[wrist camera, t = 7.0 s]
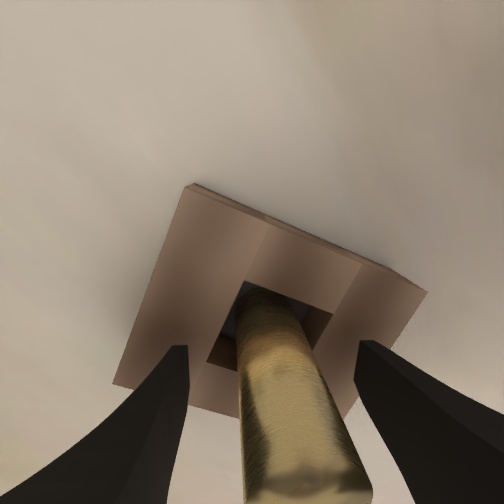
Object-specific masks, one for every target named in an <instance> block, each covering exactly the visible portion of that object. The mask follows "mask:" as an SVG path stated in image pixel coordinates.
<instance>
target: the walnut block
mask: <svg viewBox="0 0 504 504" xmlns="http://www.w3.org/2000/svg"><path fill="white" fill-rule="evenodd" d="M257 287H264V288H266V289H269V290H272V291H274V292H277V293H280V294H282V295H285V296H287V297H288V299H289V300H290V302H291V305H292V307H293V309H294V311H295V314H296V316H297V318H298V320H299V323H300V325H301V327H302V329H303V332H304V334H305V336H306V338H307V341H308V343H309V345H310V347H311V350H312V352H313V354H314V356H315V359H316V361H317V363H318V365H319V367H320V370H321V372H322V374H323V376H324V379H325V381H326V383H327V385H328V388H329V390H330V392H331V394H332V397H333V399H334V401H335V403H336V406H337V408H338V410H339V412H340V415H341V417H342V419H344V418H345V416H346V415H347V413H348V412H349V410H350V409H351V407H352V406H353V404H354V403H355V401H356V400H357V398H358V397H359V393H358V391H357V388H356V386H355V383H354V381H353V378H354V372H355V366H356V359H357V353H358V347H359V341H360V340H374V341H376V342H378V343H380V344H381V345H383V346H385V347H386V348H388V349H389V350H390V349H391V347H392V346H393V344H394V342H395V341H396V339H397V338H398V336H399V335H400V333H401V332H402V330H403V329H404V327H405V326H406V324H407V323H408V321H409V320H410V318H411V317H412V315H413V314H414V312H415V311H416V309H417V308H418V306H419V305H420V303H421V302H422V300H423V299H424V297H425V296H426V294H427V293H428V292H427V291H425V290H424V289H422V288H420V287H419V286H417V285H416V284H414V283H412V282H411V281H409V280H408V279H406V278H405V277H403V276H401V275H400V274H398V273H397V272H395V271H393V270H392V269H389V268H387V267H385V266H383V265H380V264H378V263H376V262H373V261H371V260H369V259H367V258H364V257H362V256H360V255H357V254H355V253H353V252H351V251H348V250H346V249H344V248H341V247H339V246H337V245H335V244H332V243H330V242H328V241H325V240H323V239H321V238H319V237H316V236H314V235H312V234H309V233H307V232H305V231H303V230H300V229H298V228H296V227H293V226H291V225H289V224H287V223H284V222H282V221H280V220H277V219H275V218H273V217H271V216H268V215H266V214H264V213H261V212H259V211H257V210H255V209H252V208H250V207H248V206H245V205H243V204H241V203H238V202H236V201H234V200H232V199H229V198H227V197H225V196H222V195H220V194H218V193H216V192H213V191H211V190H209V189H206V188H204V187H202V186H200V185H197V184H195V183H193V184H191V185H189V186H187V187H185V188H184V190H183V193H182V196H181V198H180V201H179V204H178V207H177V209H176V212H175V215H174V217H173V220H172V223H171V226H170V228H169V231H168V234H167V236H166V239H165V242H164V245H163V247H162V250H161V253H160V255H159V258H158V261H157V264H156V266H155V269H154V272H153V274H152V277H151V280H150V283H149V285H148V288H147V291H146V293H145V296H144V299H143V302H142V304H141V307H140V310H139V312H138V315H137V318H136V321H135V323H134V326H133V329H132V331H131V334H130V337H129V340H128V342H127V345H126V348H125V350H124V353H123V356H122V359H121V361H120V364H119V367H118V369H117V372H116V375H115V378H114V380H113V383H112V384H114V385H118V386H122V387H125V388H129V389H133V390H135V389H136V388H137V387H138V386H139V385H140V384H141V383H142V382H143V381H144V379H145V378H146V377H147V376H148V375H149V373H150V372H151V371H152V370H153V369H154V368H155V366H156V365H157V364H158V363H159V361H160V360H161V359H162V358H163V356H164V355H165V354H166V352H167V351H168V350H169V348H170V347H171V346H172V345H188V355H189V374H190V391H189V399H188V405H191V406H195V407H198V408H202V409H205V410H209V411H213V412H216V413H220V414H224V415H227V416H231V417H235V418H238V419H240V413H239V392H238V371H237V350H236V329H235V308H236V305H237V302H238V301H239V299H240V298H241V297H242V296H243V295H244V294H245V293H246V292H248V291H249V290H251V289H254V288H257Z"/></svg>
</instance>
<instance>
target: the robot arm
mask: <svg viewBox="0 0 504 504" xmlns="http://www.w3.org/2000/svg"><path fill="white" fill-rule="evenodd" d="M353 381H354V383H355V386H356V388H357V391H358V393H359V396H360V398H361V400H362V403H363V405H364V407H365V408H366V410H367V412H368V414H369V416H370V417H371V419H372V421H373V423H374V425H375V426H376V428H377V430H378V432H379V433H380V435H381V437H382V439H383V441H384V442H385V444H386V446H387V448H388V449H389V451H390V453H391V455H392V456H393V458H394V460H395V462H396V464H397V466H398V468H399V470H400V471H401V473H402V475H403V477H404V480H405V482H406V484H407V486H408V488H409V491H410V493H411V495H412V497H413V499H414V501H415V504H504V415H503V414H501V413H499V412H497V411H495V410H493V409H491V408H488V407H486V406H485V405H483V404H481V403H479V402H477V401H475V400H473V399H471V398H469V397H467V396H465V395H463V394H461V393H460V392H458V391H456V390H454V389H452V388H451V387H449V386H447V385H445V384H444V383H442V382H440V381H439V380H437V379H435V378H433V377H432V376H430V375H429V374H427V373H425V372H424V371H422V370H421V369H419V368H417V367H416V366H414V365H413V364H411V363H410V362H408V361H406V360H405V359H403V358H402V357H400V356H399V355H397V354H396V353H394V352H393V351H391V350H389V349H388V348H386V347H385V346H383V345H381V344H380V343H378V342H376V341H374V340H360V341H359V347H358V353H357V359H356V366H355V372H354V378H353ZM189 391H190V374H189V355H188V345H172V346H171V347H170V348H169V350H168V351H167V352H166V354H165V355H164V356H163V358H162V359H161V360H160V361H159V363H158V364H157V365H156V366H155V368H154V369H153V370H152V371H151V372H150V373H149V375H148V376H147V377H146V378H145V379H144V381H143V382H142V383H141V384H140V385H139V386H138V387H137V388H136V389H135V390H134V391H133V392H132V394H131V395H130V396H129V397H128V398H127V399H126V400H125V401H124V402H123V403H122V404H121V405H120V406H119V407H118V408H117V409H116V410H115V411H114V412H113V413H112V414H111V415H109V416H108V417H107V418H106V419H105V420H104V421H103V422H102V423H101V424H99V425H98V426H97V427H96V428H95V429H94V430H92V431H91V432H90V433H89V434H88V435H86V436H85V437H84V438H83V439H81V440H80V441H79V442H78V443H76V444H75V445H74V446H73V447H71V448H70V449H69V450H68V451H66V452H65V453H64V454H62V455H61V456H59V457H58V458H57V459H55V460H54V461H53V462H51V463H50V464H48V465H47V466H46V467H44V468H43V469H41V470H40V471H38V472H37V473H36V474H34V475H33V476H31V477H30V478H28V479H27V480H25V481H24V482H22V483H21V484H19V485H18V486H16V487H15V488H13V489H11V490H10V491H8V492H7V493H5V494H3V495H2V496H0V504H166V503H167V496H168V490H169V485H170V480H171V476H172V471H173V467H174V463H175V459H176V455H177V451H178V447H179V442H180V438H181V434H182V430H183V426H184V421H185V417H186V413H187V406H188V399H189Z"/></svg>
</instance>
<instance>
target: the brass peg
mask: <svg viewBox="0 0 504 504" xmlns="http://www.w3.org/2000/svg"><path fill="white" fill-rule="evenodd" d="M235 329H236V350H237V371H238V392H239V413H240V434H241V456H242V477H243V498H244V504H371V503H372V498H373V488H372V485H371V482H370V480H369V477H368V475H367V473H366V471H365V468H364V466H363V464H362V462H361V459H360V457H359V455H358V453H357V450H356V448H355V446H354V444H353V441H352V439H351V437H350V435H349V432H348V430H347V428H346V426H345V424H344V421H343V419H342V417H341V415H340V412H339V410H338V408H337V406H336V403H335V401H334V399H333V397H332V394H331V392H330V390H329V388H328V385H327V383H326V381H325V379H324V376H323V374H322V372H321V370H320V367H319V365H318V363H317V361H316V359H315V356H314V354H313V352H312V350H311V347H310V345H309V343H308V341H307V338H306V336H305V334H304V332H303V329H302V327H301V325H300V323H299V320H298V318H297V316H296V314H295V311H294V309H293V307H292V305H291V302H290V300H289V299H288V297H287V296H285V295H282V294H280V293H277V292H274V291H272V290H269V289H266V288H264V287H257V288H254V289H251V290H249V291H248V292H246V293H245V294H244V295H243V296H242V297H241V298H240V299H239V301H238V302H237V305H236V308H235Z"/></svg>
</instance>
